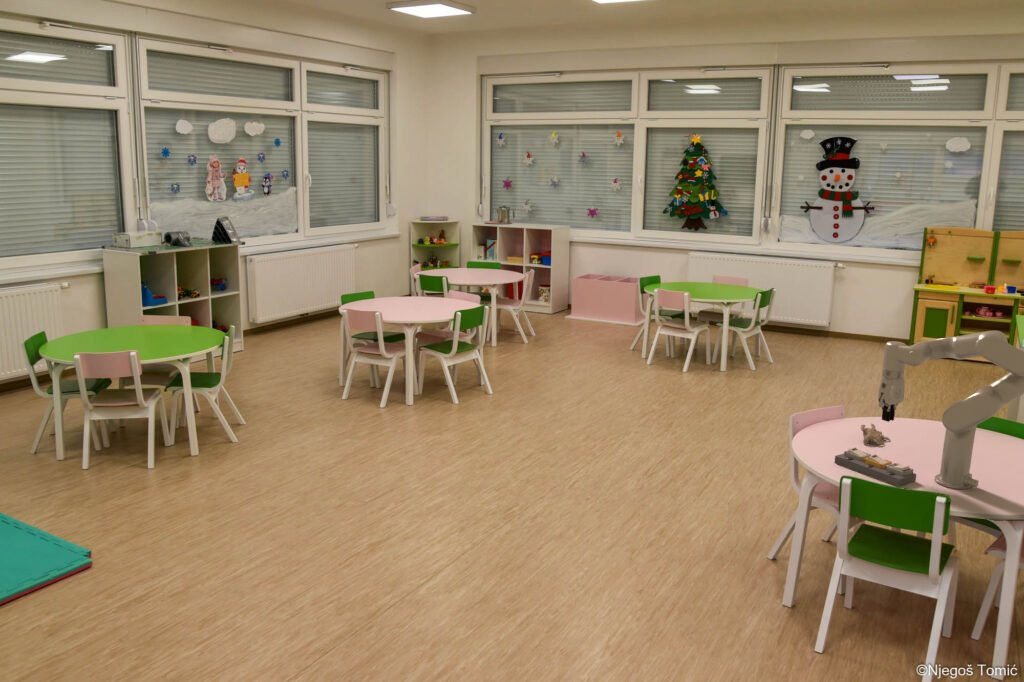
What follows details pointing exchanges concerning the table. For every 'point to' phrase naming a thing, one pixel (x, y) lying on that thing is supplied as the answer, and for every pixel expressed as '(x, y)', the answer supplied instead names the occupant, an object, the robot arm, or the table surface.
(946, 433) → the robot arm
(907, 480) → the rocker switch panel
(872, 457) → the rocker middle
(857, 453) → the rocker
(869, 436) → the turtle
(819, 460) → the table surface
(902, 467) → the rocker
